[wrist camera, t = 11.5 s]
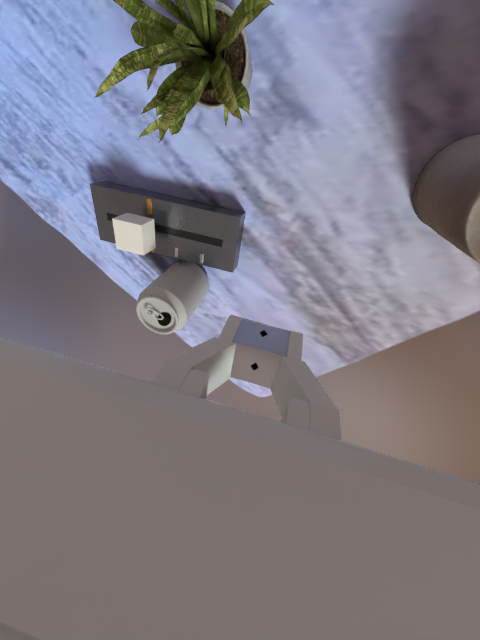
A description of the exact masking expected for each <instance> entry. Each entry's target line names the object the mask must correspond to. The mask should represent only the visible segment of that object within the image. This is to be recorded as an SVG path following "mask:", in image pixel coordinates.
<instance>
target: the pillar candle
mask: <svg viewBox="0 0 480 640" xmlns="http://www.w3.org/2000/svg"><path fill="white" fill-rule="evenodd" d="M413 207H414V211H415V213H416V215H417V216H418V218H419V219H420V220H421V221H422V222H423V223H425V224H426V225H428V226H429V227H431V228H432V229H433V230H434V231H436V232H437V233H438V234H439V235H441V236H442V237H443V238H445V239H446V240H447V241H449V242H450V243H452V244H453V245H454V246H456V247H457V248H458V249H460V250H461V251H463V252H464V253H465V254H467V255H468V256H470V257H471V258H473V259H474V260H476V261H477V262H479V263H480V134H476V135H471V136H467V137H465V138H462V139H460V140H457V141H455V142H453V143H451V144H450V145H448V146H447V147H445V148H444V149H442V150H441V151H440V152H438V153H437V154H436V155H435V156H434V157H433V158H432V159H431V160H430V161H429V162H428V163H427V164H426V166H425V167H424V169H423V170H422V172H421V174H420V175H419V177H418V179H417V182H416V185H415V188H414V192H413Z"/></svg>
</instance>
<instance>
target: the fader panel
mask: <svg viewBox="0 0 480 640" xmlns="http://www.w3.org/2000/svg"><path fill="white" fill-rule="evenodd" d="M90 187H91V192H92V198H93V203H94V208H95V214H96V219H97V225H98V230H99V235H100V240H104V241H108V242H112V243H116V241H115V234H114V228H113V221H112V218H115V217H117V216H120V215H122V214H125V213H131V214H135V215H139V216H144V217H148V218H152V219H154V224H155V243H156V248H154V249H153V250H151V251H150V252H152V253H156V254H160V255H164V256H168V257H172V258H176V259H180V260H184V261H188V262H193V263H197V264H201V265H205V266H209V267H213V268H217V269H221V270H225V271H229V272H233V271H234V270H235V268H236V266H237V265H238V259H239V252H240V245H241V239H242V232H243V225H244V219H245V212H241V211H236V210H232V209H227V208H223V207H218V206H214V205H209V204H205V203H200V202H196V201H191V200H186V199H182V198H177V197H173V196H168V195H164V194H159V193H155V192H150V191H146V190H141V189H137V188H132V187H128V186H123V185H118V184H114V183H109V182H105V181H103V182H98V183H93V184H90Z"/></svg>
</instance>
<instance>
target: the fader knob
mask: <svg viewBox="0 0 480 640" xmlns="http://www.w3.org/2000/svg"><path fill="white" fill-rule="evenodd" d="M112 221H113V228H114V234H115V241H116V248H117V249H120V250H124V251H128V252H132V253H136V254H140V255H145V254H147V253H148V252H150V251H151V250H153V249H154V248H156V243H155V224H154V219H152V218H148V217H144V216H139V215H135V214H131V213H125V214H122V215H120V216H117V217H115V218H112Z"/></svg>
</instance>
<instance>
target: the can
mask: <svg viewBox="0 0 480 640" xmlns="http://www.w3.org/2000/svg"><path fill="white" fill-rule="evenodd" d="M208 290H209V281H208V277H207V276H206V274H205V272H204V271H203V270H202V269H201V268H200V267H199V266H198V265H196V264H195V263H193V262H188V261H178V262H176V263H174V264H173V265H172V266H170V267H169V268H168V269H167V270H166V271H165V272H164V273H163V274H161V275H160V276H159V277H158V278H157V279H156V280H155V281H153V282H152V283H151V284H150V285H149V286H148V287H147V288H145V289H144V290H143V291H142V292H141V293H140V295H139V298H138V303H137V307H136V310H137V315H138V317H139V319H140V320H141V322H142V323H143V324H144V325H145V326H146V327H147V328H148V329H150V330H152V331H153V332H156V333H159V334H169V333H172V332H174V331H178V330H180V329H181V328H182V327H184V325H185V324H186V322H187V321H188V320H189V318H190V317H191V315H192V314H193V313H194V311H195V310H196V308H197V307H198V305H199V304H200V303H201V301H202V300H203V298H204V297H205V296H206V294H207V292H208Z"/></svg>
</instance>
